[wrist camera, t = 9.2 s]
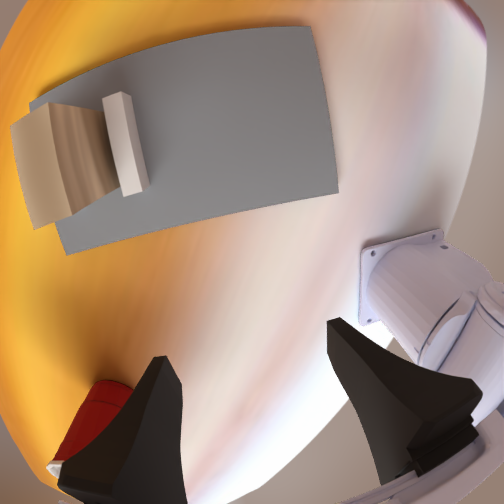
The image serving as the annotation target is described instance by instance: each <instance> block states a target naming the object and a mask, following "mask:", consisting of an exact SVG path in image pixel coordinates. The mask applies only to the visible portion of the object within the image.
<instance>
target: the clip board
mask: <svg viewBox="0 0 504 504" xmlns="http://www.w3.org/2000/svg"><path fill="white" fill-rule="evenodd" d="M47 102H50V103H57V104H64V105H70V106H76V107H81V108H87V109H92V110H97V111H102V112H104V113H105V118H106V124H107V129H108V134H109V139H110V144H111V148H112V153H113V157H114V162H115V166H116V170H117V174H118V178H119V182H120V186H121V187H119V188H117V189H115V190H113V191H112V192H110V193H108V194H106V195H105V196H103V197H101V198H100V199H98V200H96V201H95V202H93V203H91V204H90V205H88V206H86V207H85V208H83V209H82V210H80V211H78V212H77V213H75V214H74V215H72V216H69V217H66V218H64V219H61V220H58V221H56V222H55V225H56V228H57V231H58V234H59V236H60V239H61V242H62V245H63V247H64V250H65V252H66V255H71V254H74V253H77V252H81V251H84V250H88V249H91V248H95V247H98V246H102V245H106V244H109V243H113V242H117V241H120V240H124V239H128V238H132V237H136V236H139V235H143V234H147V233H151V232H155V231H159V230H163V229H167V228H171V227H176V226H180V225H184V224H188V223H192V222H197V221H201V220H206V219H210V218H214V217H219V216H223V215H228V214H233V213H237V212H242V211H247V210H252V209H256V208H261V207H266V206H271V205H276V204H282V203H287V202H292V201H297V200H303V199H308V198H314V197H319V196H325V195H331V194H336V193H339V189H338V179H337V169H336V161H335V152H334V145H333V137H332V130H331V124H330V117H329V111H328V105H327V100H326V94H325V89H324V84H323V79H322V74H321V69H320V64H319V60H318V55H317V51H316V47H315V43H314V39H313V35H312V31H311V27H310V26H283V27H262V28H250V29H240V30H232V31H225V32H218V33H212V34H206V35H201V36H196V37H191V38H187V39H182V40H178V41H174V42H170V43H166V44H162V45H159V46H155V47H152V48H149V49H145V50H142V51H139V52H136V53H133V54H130V55H127V56H124V57H122V58H119V59H116V60H114V61H111V62H109V63H106V64H104V65H101V66H99V67H97V68H94V69H92V70H90V71H88V72H85V73H83V74H81V75H79V76H77V77H75V78H73V79H71V80H69V81H67V82H65V83H63V84H61V85H59V86H57V87H56V88H54V89H52V90H50V91H48V92H47V93H45V94H43V95H42V96H40V97H38V98H37V99H35V100H33V101H32V102H30V103H29V106H30V113H31V112H32V111H34V110H35V109H37V108H39V107H40V106H42V105H44V104H46V103H47Z"/></svg>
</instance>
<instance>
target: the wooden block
mask: <svg viewBox="0 0 504 504" xmlns="http://www.w3.org/2000/svg"><path fill="white" fill-rule="evenodd" d="M10 129H11V136H12V143H13V149H14V155H15V160H16V165H17V170H18V175H19V179H20V183H21V187H22V191H23V195H24V199H25V202H26V206H27V209H28V212H29V216H30V219H31V222H32V225H33V228H34V230H35V229H38V228H40V227H43V226H45V225H48V224H50V223H53V222H56V221H58V220H61V219H64V218H66V217H69V216H72V215H74V214H75V213H77V212H78V211H80V210H82V209H83V208H85V207H86V206H88V205H90V204H91V203H93V202H95V201H96V200H98V199H100V198H101V197H103V196H105V195H106V194H108V193H110V192H112V191H113V190H115V189H117V188H119V187H121V186H120V182H119V178H118V174H117V170H116V166H115V162H114V157H113V153H112V148H111V144H110V139H109V134H108V129H107V124H106V118H105V113H104V112H102V111H97V110H92V109H87V108H81V107H76V106H70V105H64V104H57V103H50V102H47V103H46V104H44V105H42V106H40V107H39V108H37V109H35V110H34V111H32V112H31V113H29V114H27V115H26V116H24V117H23V118H21V119H20V120H18V121H17V122H15V123H14V124H12V125H11V126H10Z"/></svg>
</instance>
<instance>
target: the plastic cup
mask: <svg viewBox="0 0 504 504" xmlns="http://www.w3.org/2000/svg"><path fill="white" fill-rule="evenodd" d="M132 392H133V390H132V389H131V388H129V387H127V386H125V385H123V384H121V383H118V382H114V381H106V380H102V381H99V382H96V383H95V385H94V386H93V387H92V388H91V390H90V391H89V393H88V395H87V397H86V399H85V400H84V402H83V403H82V405H81V406H80V408H79V410H78V412H77V414H76V416H75V418H74V420H73V422H72V424H71V426H70V428H69V430H68V432H67V434H66V436H65V438H64V440H63V442H62V443H61V445H60V447H59V449H58V451H57V453H56V454H55V457H54V458H53V460H52V461H50V462H49V463H48V465H47V467H46V468H47V470H48V471H49V472H50V473H51V474H52V475H54V476H55V477H57V478H58V479H59V474H60V469H61V465H62V462H64V461H66V460H67V459H69V458H70V457H72V456H73V455H75V454H76V453H78V452H79V451H80V450H82V449H83V448H84V447H85V446H87V445H88V444H89V443H90V442H91V441H92V440H94V439H95V438H96V437H97V436H98V435H99V434H100V433H101V432H102V431H103V430H104V429H105V428H106V427H107V426H108V424H109V423H110V422H111V421H112V420H113V419H114V417H115V416H116V415H117V414H118V412H119V411H120V410H121V408H122V407H123V406H124V404H125V403H126V401H127V400H128V398H129V397H130V395H131V394H132Z"/></svg>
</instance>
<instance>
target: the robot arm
mask: <svg viewBox="0 0 504 504" xmlns="http://www.w3.org/2000/svg"><path fill="white" fill-rule="evenodd" d="M443 235H444V232H443V230H441V229H436V230H432V231H429V232H425V233H421V234H417V235H414V236H410V237H406V238H402V239H398V240H394V241H390V242H386V243H383V244H379V245H375V246H371V247H367V248H364V249H363V250H362V252H361V285H360V308H359V324H360V325H361V326H365V325H368V324H371V323H374V322H377V321H380V320H381V321H382V322H383V324H384V325H385V326H386V327H387V329H388V330H389V331H390V332H391V333H392V335H393V336H394V337H395V338H396V339H397V341H398V342H399V343H400V345H401V346H402V347H403V349H404V350H405V351H406V352H407V354H408V355H409V356H410V358H411V359H412V360H413V361H414V363H415V364H413V363H411V362H409V361H406V360H404V359H402V358H400V357H398V356H396V355H394V354H393V353H390V352H389V351H387V350H386V349H384V348H382V347H381V346H379V345H378V344H376V343H375V342H373V341H372V340H370V339H369V338H367V337H366V336H364V335H363V334H362V333H360V332H359V331H357V330H356V329H355V328H353V327H352V326H351V325H349V324H348V323H347V322H346V321H344V320H343V319H342V318H340V317H339V318H335V319H332V320H329V321H327V354H328V356H329V359H330V361H331V364H332V366H333V369H334V371H335V373H336V375H337V377H338V379H339V381H340V382H341V384H342V386H343V388H344V390H345V391H346V393H347V395H348V397H349V399H350V400H351V402H352V404H353V406H354V408H355V410H356V412H357V414H358V417H359V419H360V422H361V424H362V427H363V429H364V432H365V434H366V437H367V440H368V443H369V446H370V449H371V452H372V455H373V458H374V462H375V465H376V469H377V472H378V476H379V480H380V484H381V486H380V487H378V488H376V489H373V490H371V491H368V492H366V493H363V494H361V495H358V496H356V497H353V498H350V499H347V500H344V501H341V502H339V503H335V504H378V503H380V502H382V501H385V500H387V499H389V498H390V499H389V500H388V501H387V502H385V503H383V504H456V503H457V502H459V501H460V500H461V499H463V498H464V497H465V496H467V495H468V494H469V493H470V492H471V491H473V490H474V489H475V488H476V487H477V486H478V485H480V484H481V483H482V482H483V481H484V480H485V479H486V478H488V476H490V475H491V474H492V473H493V472H494V471H495V470H496V469H497V468H498V467H499V466H500V465H501V464H502V463H503V462H504V283H501V282H498V281H493V278H492V276H491V274H490V273H489V271H488V270H487V268H486V267H485V266H484V265H483V264H481V263H480V262H478V261H477V260H475V259H474V258H472V257H470V256H469V255H468V254H466V253H464V252H462V251H461V250H459V249H458V248H456V247H454V246H453V245H451V244H449V243H448V242H446V241H444V240H443ZM432 236H433V237H432ZM372 251H374V252H373V254H371V252H372ZM368 319H369V320H368ZM182 407H183V399H182V384H181V382H180V380H179V378H178V377H177V375H176V373H175V371H174V369H173V367H172V366H171V364H170V362H169V360H168V358H167V356H159V357H154V358H153V359H152V361H151V363H150V364H149V366H148V367H147V369H146V371H145V373H144V374H143V376H142V378H141V379H140V381H139V383H138V384H137V386H136V387H135V389H134V391H133V392H132V394H131V395H130V397H129V398H128V400H127V401H126V403H125V404H124V406H123V407H122V408H121V410H120V411H119V412H118V414H117V415H116V416H115V417H114V419H113V420H112V421H111V422H110V423H109V424H108V426H107V427H106V428H105V429H104V430H103V431H102V432H101V433H100V434H99V435H98V436H97V437H96V438H95V439H94V440H92V441H91V442H90V443H89V444H88V445H87V446H85V447H84V448H83V449H82V450H80V451H79V452H78V453H76V454H75V455H73V456H72V457H70V458H69V459H67V460H66V461H64V462H62V465H61V469H60V474H59V479H58V483H57V485H58V487H59V489H61V490H62V491H63V492H65V493H67V494H68V495H70V496H72V497H74V498H76V499H78V500H79V501H81V502H83V503H84V504H188V503H187V498H186V493H185V487H184V481H183V473H182V465H181V453H180V440H181V423H182ZM58 504H72V503H68V502H65V501H62V500H59V501H58Z"/></svg>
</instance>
